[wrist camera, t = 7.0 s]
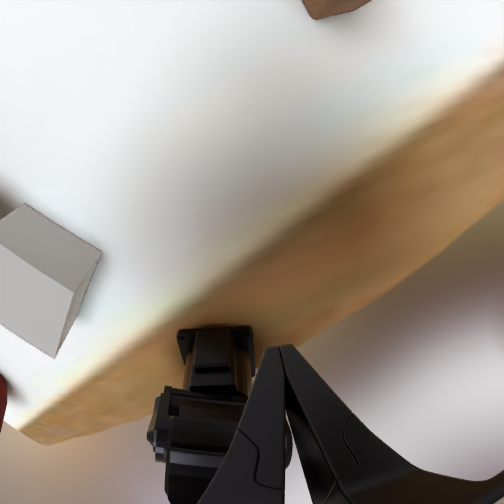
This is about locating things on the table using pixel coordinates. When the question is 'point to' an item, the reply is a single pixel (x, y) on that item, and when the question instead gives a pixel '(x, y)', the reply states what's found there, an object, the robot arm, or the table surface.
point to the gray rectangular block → (42, 278)
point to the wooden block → (332, 7)
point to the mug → (2, 400)
